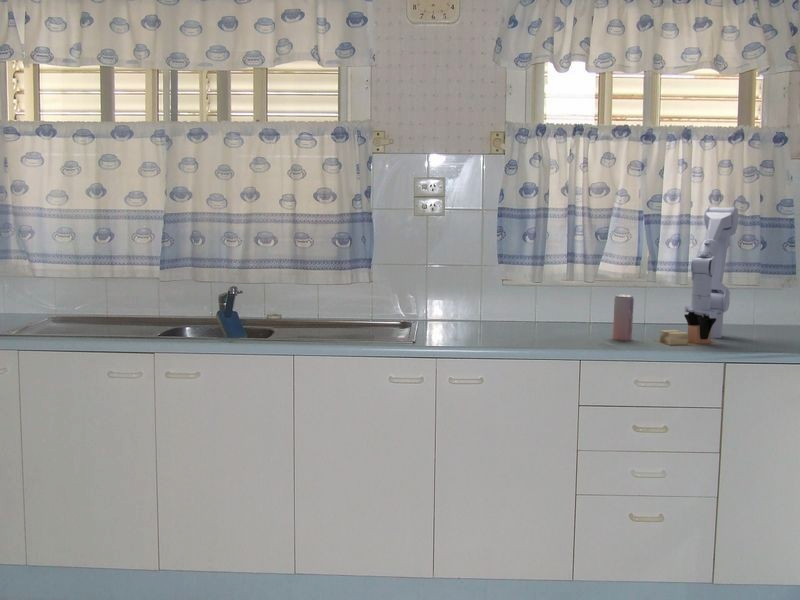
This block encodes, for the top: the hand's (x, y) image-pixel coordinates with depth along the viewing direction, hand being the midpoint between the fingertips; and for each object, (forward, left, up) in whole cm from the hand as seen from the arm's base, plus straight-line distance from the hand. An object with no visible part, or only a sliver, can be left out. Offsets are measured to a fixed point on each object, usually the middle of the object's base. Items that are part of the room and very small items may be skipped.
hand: (698, 337), depth 265 cm
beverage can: (-9, -22, -2) cm, 24 cm away
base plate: (0, -4, -2) cm, 5 cm away
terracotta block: (0, 0, -1) cm, 1 cm away
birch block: (0, -9, -1) cm, 9 cm away
